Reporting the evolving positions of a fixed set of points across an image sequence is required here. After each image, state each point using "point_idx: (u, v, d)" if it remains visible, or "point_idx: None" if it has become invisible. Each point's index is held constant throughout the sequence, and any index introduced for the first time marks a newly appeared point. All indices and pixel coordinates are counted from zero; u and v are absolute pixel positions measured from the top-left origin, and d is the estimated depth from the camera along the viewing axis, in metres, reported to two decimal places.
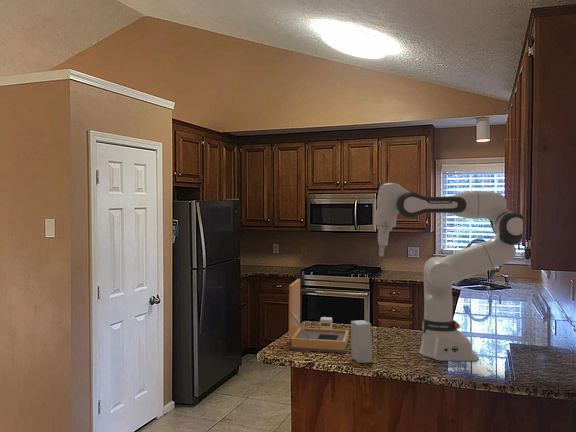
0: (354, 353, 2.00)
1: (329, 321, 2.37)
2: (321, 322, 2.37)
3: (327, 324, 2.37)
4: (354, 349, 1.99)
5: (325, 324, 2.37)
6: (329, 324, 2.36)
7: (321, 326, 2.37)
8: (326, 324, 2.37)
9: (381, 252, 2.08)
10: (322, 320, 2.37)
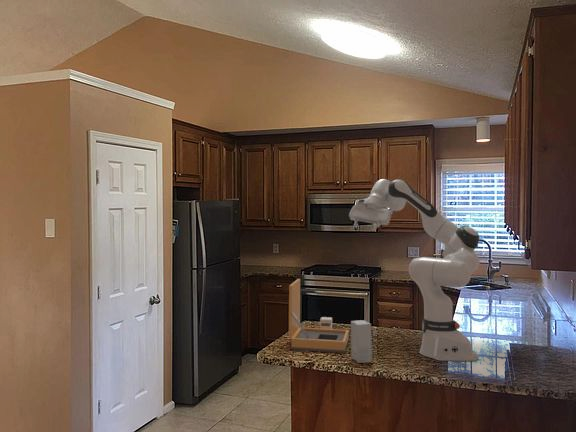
0: (354, 353, 2.00)
1: (329, 321, 2.37)
2: (321, 322, 2.37)
3: (327, 324, 2.37)
4: (354, 349, 1.99)
5: (325, 324, 2.37)
6: (329, 324, 2.36)
7: (321, 326, 2.37)
8: (326, 324, 2.37)
9: (376, 227, 2.46)
10: (322, 320, 2.37)
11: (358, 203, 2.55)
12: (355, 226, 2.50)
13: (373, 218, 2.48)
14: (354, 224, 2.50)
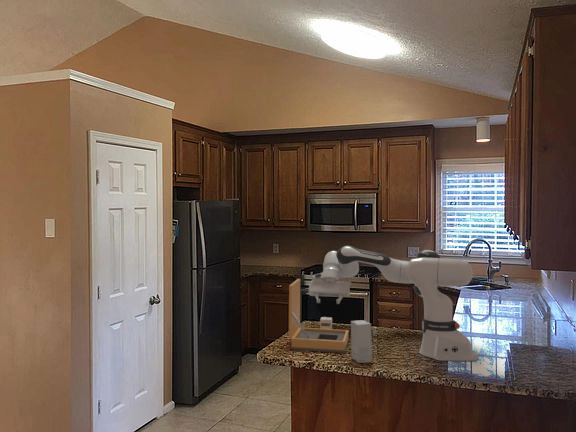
0: (354, 353, 2.00)
1: (329, 321, 2.37)
2: (321, 322, 2.37)
3: (327, 324, 2.37)
4: (354, 349, 1.99)
5: (325, 324, 2.37)
6: (329, 324, 2.36)
7: (321, 326, 2.37)
8: (326, 324, 2.37)
9: (339, 300, 2.48)
10: (322, 320, 2.37)
11: (315, 278, 2.55)
12: (318, 302, 2.49)
13: (335, 291, 2.50)
14: (317, 300, 2.49)
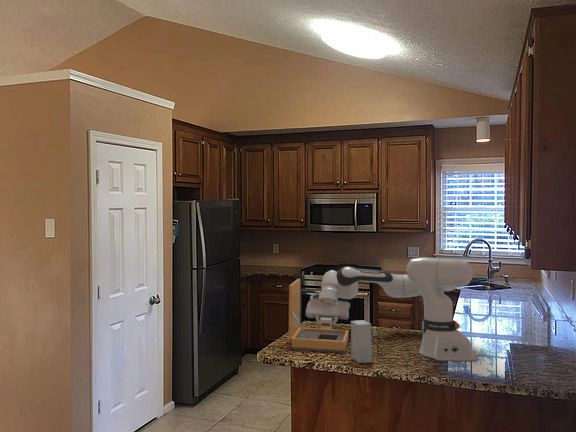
0: (354, 353, 2.00)
1: (329, 321, 2.37)
2: (321, 322, 2.37)
3: (327, 324, 2.37)
4: (354, 349, 1.99)
5: (325, 324, 2.37)
6: (329, 324, 2.36)
7: (321, 326, 2.37)
8: (326, 324, 2.37)
9: (335, 322, 2.39)
10: (322, 320, 2.37)
11: (313, 299, 2.46)
12: (319, 324, 2.39)
13: (333, 313, 2.40)
14: (318, 322, 2.39)
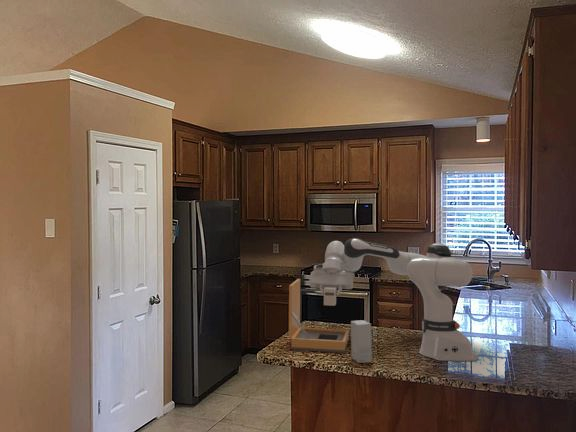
0: (354, 353, 2.00)
1: (333, 290, 2.31)
2: (325, 291, 2.32)
3: (331, 293, 2.31)
4: (354, 349, 1.99)
5: (329, 293, 2.31)
6: (333, 293, 2.31)
7: (325, 295, 2.32)
8: (330, 293, 2.31)
9: (339, 292, 2.33)
10: (326, 290, 2.32)
11: (316, 269, 2.41)
12: (323, 294, 2.34)
13: (337, 283, 2.35)
14: (321, 292, 2.34)
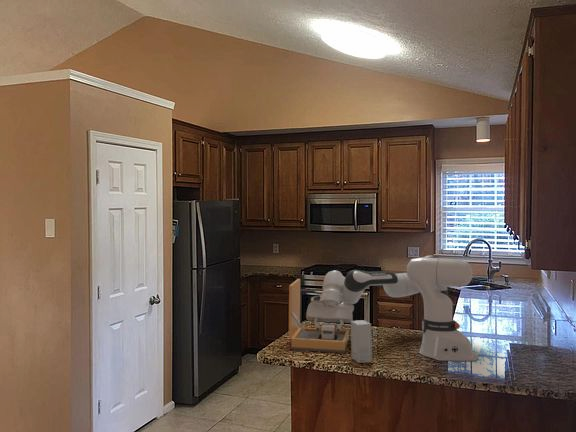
0: (354, 353, 2.00)
1: (331, 328, 2.18)
2: (323, 329, 2.19)
3: (329, 331, 2.18)
4: (354, 349, 1.99)
5: (327, 331, 2.18)
6: (331, 332, 2.18)
7: (323, 334, 2.19)
8: (328, 331, 2.18)
9: (340, 327, 2.20)
10: (324, 328, 2.19)
11: (314, 301, 2.28)
12: (317, 328, 2.21)
13: (336, 317, 2.22)
14: (316, 326, 2.21)
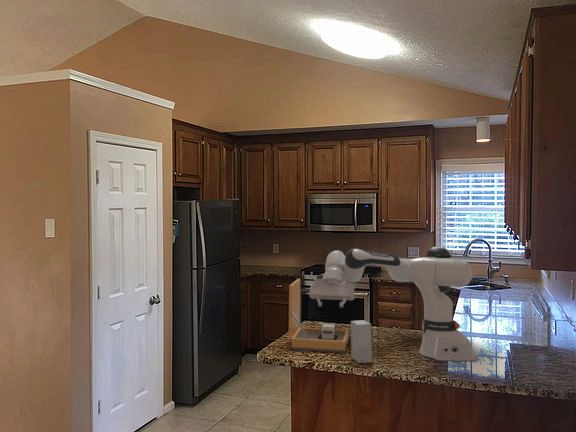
0: (354, 353, 2.00)
1: (331, 328, 2.18)
2: (323, 329, 2.19)
3: (329, 331, 2.18)
4: (354, 349, 1.99)
5: (327, 331, 2.18)
6: (331, 332, 2.18)
7: (323, 334, 2.19)
8: (328, 331, 2.18)
9: (343, 303, 2.29)
10: (324, 328, 2.19)
11: (317, 279, 2.36)
12: (320, 305, 2.29)
13: (338, 294, 2.30)
14: (318, 303, 2.30)
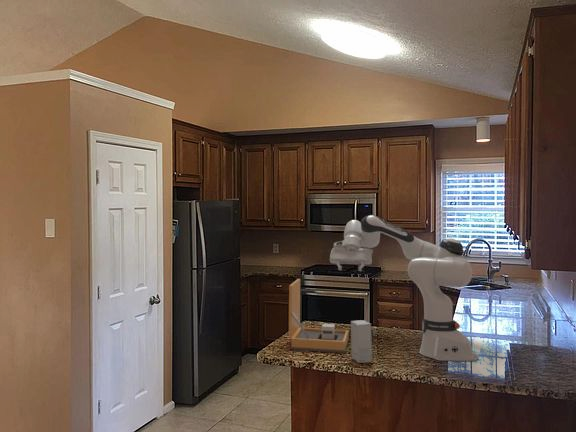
0: (354, 353, 2.00)
1: (331, 328, 2.18)
2: (323, 329, 2.19)
3: (329, 331, 2.18)
4: (354, 349, 1.99)
5: (327, 331, 2.18)
6: (331, 332, 2.18)
7: (323, 334, 2.19)
8: (328, 331, 2.18)
9: (361, 267, 2.45)
10: (324, 328, 2.19)
11: (336, 246, 2.52)
12: (340, 269, 2.46)
13: (357, 259, 2.47)
14: (338, 267, 2.46)
